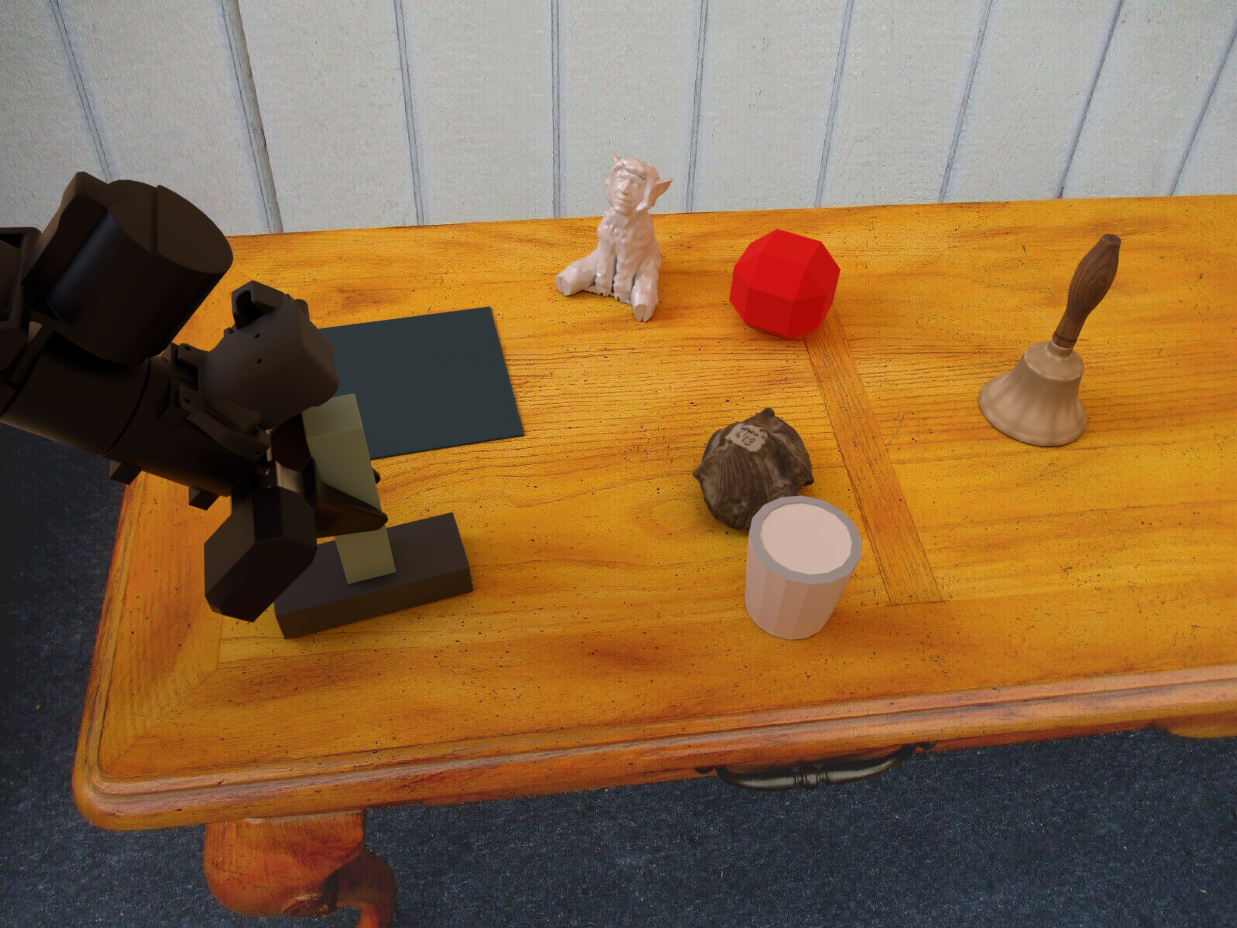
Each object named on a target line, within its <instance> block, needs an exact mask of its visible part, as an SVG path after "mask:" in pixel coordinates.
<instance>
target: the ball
mask: <svg viewBox="0 0 1237 928" xmlns="http://www.w3.org/2000/svg"><path fill="white" fill-rule="evenodd" d="M841 270H842V269H841V268H840V267H839V265H838V263H837V262H836V261H835V259H834V258H833V256H832V255H831V253H830V252H829V250H828V248H827V247H826V246H825V244H824V243H823V242H822V240H818V239H815V238H811V237H808V236H804V235H801V234H797V233H794V232H791V231H787V230H783V229H780V228H775V229H774V230H772V231H770V232H768V233H766V234H764V235H763V236H760V237H759V238H757V239H755V240H753V241H752V242H750V243H749V244H748V245H747V247H746V248H745V250H744V251H743V253H742V254H741V255H740V257H739V259H738V260H737V261H736V263H735V264H734V266H733V270H732V271H733V272H732V276H731V277H732V278H731V285H730V291H729V298H728V301H729V302H730V303H731V305H732V307H733V308H734V310H735V312H736V313H737V314H738V315H739V317H740V319H741V320H742V321H743V323H745V325H746V326H747V327H749V328H752V329H754V330H758V331H761V332H764V333H767V334H771V335H773V336H777V337H780V338H783V339H786V340H789V341H793V340H795V339H797V338H799V337H802V336H804V335H807V334H809V333H811V332H814V331H816V330H818V329H820V327H821V325H822V323H823V321H824V320H825V318H826V316H827V314H828V313H829V311H830V309H831V307H832V305H833V304H834V303H833V302H834V299H835V294H836V290H837V287H838V282H839V279H840V275H841V272H842V271H841Z"/></svg>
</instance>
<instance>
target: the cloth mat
mask: <svg viewBox="0 0 1237 928" xmlns="http://www.w3.org/2000/svg"><path fill="white" fill-rule="evenodd" d="M318 329H319V330H320V331H321V332H322V333H323V334H324V335H325V336H326V338H327V339H328V340H329V341H330V342H331V343H332V344H333V347H334V352H333V358H334V365H335V371H336V373H337V375H338V378H339V387H338V390H337V391H336V393H335V395H334V396H333V397H338V396H343V395H348V394H355V396H356V401H357V405H358V409H359V413H360V417H361V421H362V425H363V430H364V434H365V438H366V443H367V447H368V451H369V456H370V460H375V459H377V460H378V459H382V458H389V457H395V456H402V455H408V454H415V453H421V452H427V451H433V450H434V451H435V450H440V449H441V450H442V449H446V448H453V447H459V446H460V447H461V446H466V445H472V444H478V443H484V442H491V441H498V440H505V439H509V438H517V437H522V436H525V432H524V428H523V425H522V421H521V418H520V414H519V410H518V405H517V402H516V398H515V395H514V391H513V387H512V384H511V380H510V376H509V371H508V368H507V365H506V360H505V357H504V354H503V349H502V345H501V343H500V338H499V335H498V331H497V327H496V323H495V320H494V315H493V312H492V308H491V305H490V306H489V305H488V306H482V307H475V308H465V309H460V310H459V309H458V310H452V311H444V312H436V313H435V312H434V313H427V314H421V315H412V316H405V317H397V318H388V319H380V320H374V321H365V322H359V323H350V324H343V325H335V326H326V327H319V328H318ZM333 397H332V398H333Z"/></svg>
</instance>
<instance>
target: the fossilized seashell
mask: <svg viewBox="0 0 1237 928" xmlns="http://www.w3.org/2000/svg"><path fill="white" fill-rule="evenodd" d="M775 412H776V411H775V410H774V409H773V408H771V407H769V406H768V407H766V408H764V409H763V410H761V411H760V412H758V413H756V414H755V415H753V416H750V417H748V418H746V419H744V420H742V421H735V422H733V423H730V424H728V425H727V426H726V427H723V428H719V429H717V430H715V431H714V432H713V433H712V435H711V436H710V437H709V439H708V441H707V443H706V446H705V449H704V451H703V455H702V458H701V463H699V464H698V466H697V467H696V468H695V469H694V470H693V472H692V476H693V477H694V478H695V479H696V481H697V482H698V483H699V487H700V489H701V492H702V494H703V500H704V503H705V505H706V507H707V509H708V511H709V513H710V514H711V515H712V517H713V518H714V519H715V520H716V521H717V522H720V523H721V524H722V525H725V526H726V527H729V528H731V529H733V530H737V531H750V527H751V522H752V518H753V517H754V516H755V515H756V513H757V512H758V511H759V510H760V509H761V508H762V507H763V505H765V504H767V503H770V502H772V501H774V500H776V499H778V498H781V497H791V496H799V493H800V492H801V490H802V488H804V487H807V486H811V485H813V484H814V483H815V478H814V476H813V471H812V466H813V465H812V462H811V456H810V454H809V452H808V450H807V448H806V446H805V443H804V441H803V439H802V437H801V435H800V433H798V431H797V430H796V429H795V428H794V426H792V425H790V424H789V423H787V422H786V421H784V420H783V419H782V418H780V417H779V416H777V415H776V413H775Z"/></svg>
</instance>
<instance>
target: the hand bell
mask: <svg viewBox="0 0 1237 928" xmlns="http://www.w3.org/2000/svg"><path fill="white" fill-rule="evenodd" d="M1121 245H1122V239H1121V237H1119V236H1118V235H1116V234H1114V233H1104V234H1103V235H1102V236H1100V238H1099V239H1098V241H1097V242H1096V243H1095V245H1093V247H1092V248H1090V249H1089V251H1087V252H1086V254H1085V255H1084V256H1083V257H1082V258H1081V260H1080V261H1079V262H1078V265H1077V266H1076V268H1075V270H1074V272H1073V275H1072V277H1071V280H1070V283H1069V287H1068V292H1067V302H1066V307H1065V310H1064V312H1063V314H1062V317H1061V319H1060V321H1059V322H1058V324H1057V326H1056V328H1055V330H1054V332H1053V333H1052V336H1051V339H1050V340H1049V341H1038V342H1035V343H1032V344H1031V345H1030V346H1028V347H1027V348H1026V349H1025V350H1024V352H1023V354H1022V355H1021V356H1020V358H1019V360H1018V361H1017V363H1016V364H1015V365H1014V367H1013V368H1011V370H1009V371H1008V372H1004V373H1001V374H998V375H995V376H994V377H992V378H991V379H989V380H988V381H987V382H985V383H984V385H983V386H982V387H981V389H980V390H979V394H978V405H979V408H980V410H981V412H982V415H983V416H984V418H985V419H986V420H987V421H988V422H989V423H990V424H991V425H992V426H993V427H994V428H995V429H996V430H998V431H999V432H1001V433H1002V434H1003V435H1006V436H1008V437H1010V438H1012V439H1014V440H1017V441H1018V442H1021V443H1025V444H1028V445H1032V446H1038V447H1054V446H1064V445H1066V444H1069V443H1073V442H1074V441H1076V440H1077V439H1078V438H1080V437H1081V435H1082V434H1083V433H1084V432H1085V429H1086V426H1087V414H1086V408H1085V407H1084V404H1083V402H1082V401H1081V399H1080V398H1079V389H1080V386H1081V385H1080V384H1081V381H1082V379H1083V376H1084V373H1085V362H1084V360H1083V357H1082V356H1081V355H1080V354H1079V353H1078V352H1076V351H1075V350H1074V348H1075V346H1076V344H1077V342H1078V338H1079V337H1080V334H1081V332H1082V329H1083V327H1084V325H1085V322H1086V320H1087V318H1088V317H1089V315H1090V314H1091V313H1092V312H1093V311H1094V310H1095V309H1096V308H1097V307H1098V306H1099V304H1100V303H1101V302H1103V300H1104V298H1105V297H1106V296H1107V294H1108V292H1109V291H1110V289H1111V287H1112V285H1113V283H1114V281H1115V278H1116V276H1117V274H1118V268H1119V263H1120V250H1121Z"/></svg>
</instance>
